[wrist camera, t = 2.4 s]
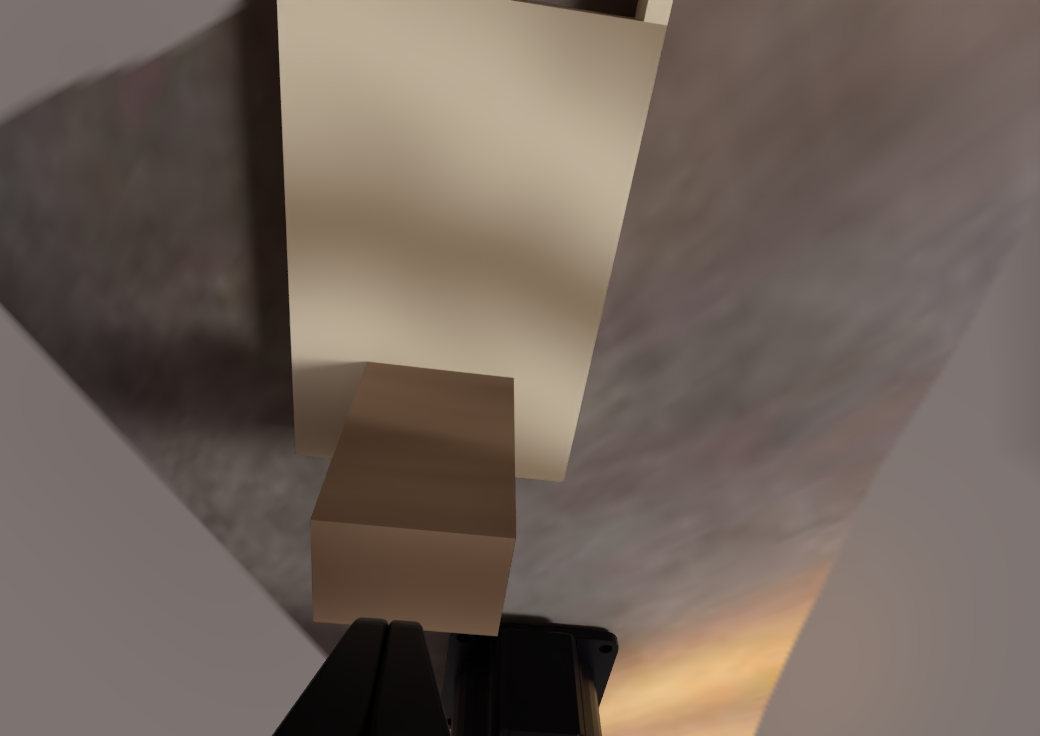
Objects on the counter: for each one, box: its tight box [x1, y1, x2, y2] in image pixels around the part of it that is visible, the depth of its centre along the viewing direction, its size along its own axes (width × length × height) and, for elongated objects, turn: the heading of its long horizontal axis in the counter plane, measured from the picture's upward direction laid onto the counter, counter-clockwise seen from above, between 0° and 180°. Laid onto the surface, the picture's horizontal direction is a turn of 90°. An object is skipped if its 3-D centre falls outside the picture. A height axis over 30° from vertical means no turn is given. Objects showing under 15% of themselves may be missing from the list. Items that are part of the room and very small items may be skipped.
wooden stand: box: [277, 0, 673, 636], centre depth 13 cm, size 21×8×7 cm, turn 172°
